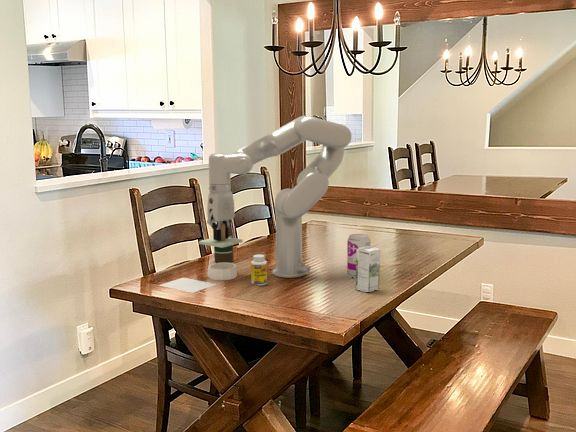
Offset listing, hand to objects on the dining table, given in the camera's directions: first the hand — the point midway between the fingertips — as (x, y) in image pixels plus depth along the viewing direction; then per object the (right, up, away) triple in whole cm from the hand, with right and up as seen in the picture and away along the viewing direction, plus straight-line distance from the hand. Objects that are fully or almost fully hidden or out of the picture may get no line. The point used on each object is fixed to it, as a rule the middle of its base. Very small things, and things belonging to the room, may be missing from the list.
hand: (221, 238), depth 220 cm
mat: (-11, -16, -8) cm, 21 cm away
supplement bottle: (+14, -16, -6) cm, 22 cm away
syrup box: (+51, -17, -14) cm, 55 cm away
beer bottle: (-2, -11, +26) cm, 28 cm away
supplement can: (+50, -14, +3) cm, 52 cm away
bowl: (0, -14, +3) cm, 15 cm away
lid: (0, -2, 0) cm, 2 cm away
